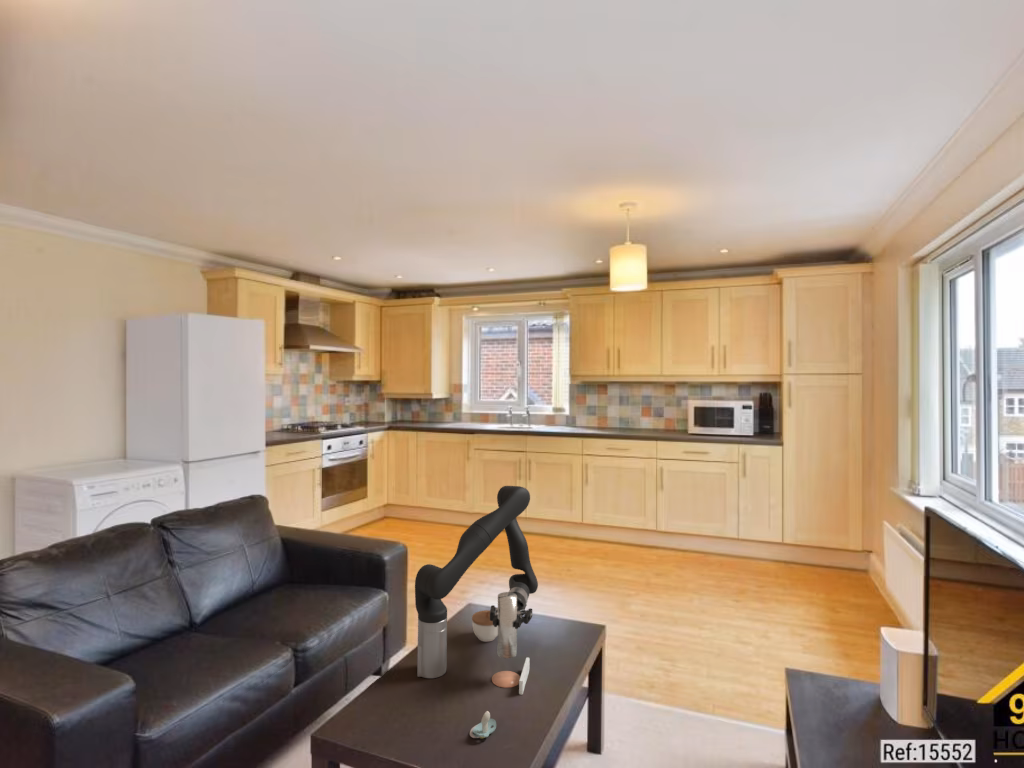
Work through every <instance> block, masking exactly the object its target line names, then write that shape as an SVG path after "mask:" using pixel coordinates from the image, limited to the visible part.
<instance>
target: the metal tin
mask: <svg viewBox="0 0 1024 768" xmlns="http://www.w3.org/2000/svg"><path fill="white" fill-rule="evenodd" d="M497 608H498V635H497V655H498V657H500V658H503V659H513V658H514V657H516V656H517V653H518V652H517V651H518V647H517V646H518V629H515V622H516V619H517V595H516V594H515V593H512V592H509V591H503V592H500V593H498V594H497Z"/></svg>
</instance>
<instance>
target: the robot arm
mask: <svg viewBox="0 0 1024 768" xmlns="http://www.w3.org/2000/svg"><path fill="white" fill-rule="evenodd" d="M496 495H497V497H496V502H497V506H498V508H496V509H495V510H493V511H491V512H489V513H487V514H486V515H484V516H482V517H479V518H478V519H476V520H475V521H474V522H473V523H471V524H470V526H469V527H467V529H466V530H465V531H464V532H463V533H462V535H461V537H460V539H458V540H459V542H458V544H457V547H456V551H455V554H454V556H453V557H452V558H451V559H450V560H449V561H448V562H447V564H445V565H444V566H443V567H440V566H438V565H434V564H431V563H429V564H424V565H423V566H421V567H420V568H419V570H418V571H417V573H416V575H415V580H414V582H415V583H414V596H415V597H414V598H415V599H414V602H415V610H416V612H417V618H418V619H417V656H416V657H417V667H416V669H417V670H416V671H417V673H416V675H417V676H416V677H417V678H418V677H419V678H420V677H422V678H425V679H435V678H439V677H442V676H444V675H445V674H446V672H447V663H448V661H447V659H448V656H447V655H448V654H447V653H448V652H447V651H448V649H447V648H448V645H447V644H448V608H447V606H446V605H445V603H444V602H443V600H442V599H445V598H446V597H447V596H448V595H449V594H450V593H451V592H452V591H453V589H454V588H455V586H456V585H457V584H458V582H459V581H460V580H461V578H462V577H463V576H464V575H465V573H466V572H467V571H468V569H470V567H471V566H472V564H473V563H474V562H475V561H476V560H477V559H478V557H480V555H482V554H483V553H484V551H486V550H487V549H488V548H489V546H490V545H491V544H492V543H493V542H494V540H495V539H496V538H497V537H499V535H500V534H501V533H502V532H503V531H504V530H505V534H506V538H507V545H508V551H509V557H510V565H511V567H512V569H514V570H520V571H522V572H523V573H514V574H513V575H511V576H510V577H509V580H508V587H509V591H508V592H512V593H515V594H516V595H517V619H516V622H515V629H517V630H518V629H519V628H521V627H522V624H523V623H524V624H526V625H527V624H529V623H530V621H531V620H532V618H533V608H528V609H526V608H527V606H528V600H529V597H530V594H535V593H536V592H537V591H538V588H539V587H538V586H539V582H538V579H537V576H536V574H535V572H534V569H533V566H532V563H531V560H530V550H529V545H528V541H527V538H526V537H525V534H524V533H523V531H522V528H521V527H520V524H519V522H518V519H517V517H519V516H520V515H521V514H522V513H523V512H524V511H525V510H526V509H527V508H528V507H529V505H530V500H531V494H530V491H529V489H527V488H526V487H524V486H519V485H518V486H517V485H503V486H502V487H500V488H499V490H498V492H497V494H496ZM490 621H493V625H494V627H497V625H498V607H496V606H495V605H493V604H492V605H491V606H490Z"/></svg>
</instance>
